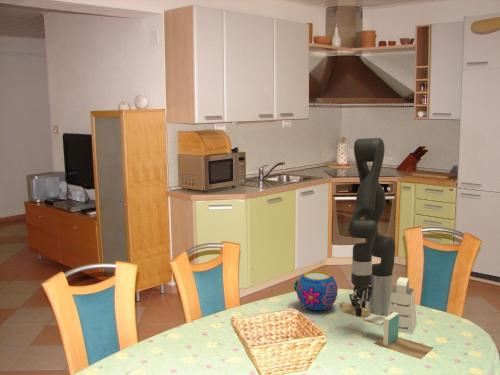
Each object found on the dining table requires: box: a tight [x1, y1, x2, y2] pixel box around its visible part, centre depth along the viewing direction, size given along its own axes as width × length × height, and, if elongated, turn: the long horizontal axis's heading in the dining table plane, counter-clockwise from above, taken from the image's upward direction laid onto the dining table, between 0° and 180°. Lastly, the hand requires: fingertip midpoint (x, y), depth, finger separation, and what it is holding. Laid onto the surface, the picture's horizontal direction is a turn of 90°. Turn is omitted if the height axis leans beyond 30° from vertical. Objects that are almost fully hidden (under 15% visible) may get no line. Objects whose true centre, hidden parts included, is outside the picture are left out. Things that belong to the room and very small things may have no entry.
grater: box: [386, 276, 418, 335], centre depth 206 cm, size 10×10×20 cm
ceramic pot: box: [293, 270, 339, 311], centre depth 227 cm, size 18×18×15 cm
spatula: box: [339, 301, 385, 327], centre depth 200 cm, size 18×6×3 cm, turn 48°
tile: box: [382, 312, 400, 346], centre depth 193 cm, size 8×2×10 cm, turn 139°
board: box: [373, 336, 434, 360], centre depth 191 cm, size 11×18×1 cm, turn 49°
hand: (360, 314), depth 201 cm, fingers closed on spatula, 2 cm apart
